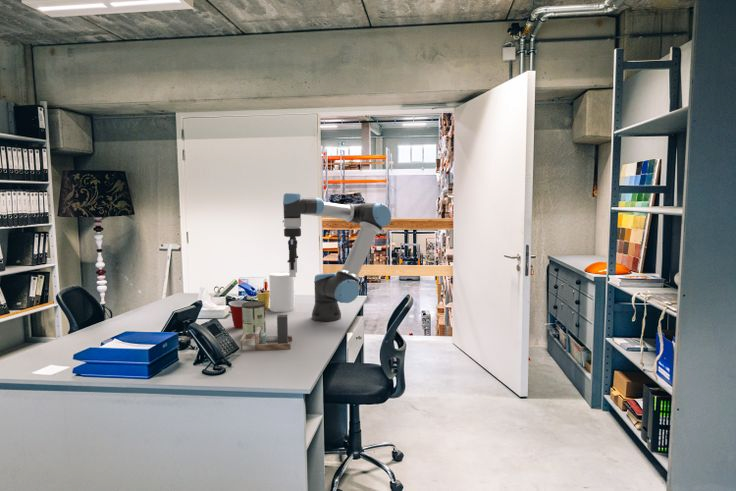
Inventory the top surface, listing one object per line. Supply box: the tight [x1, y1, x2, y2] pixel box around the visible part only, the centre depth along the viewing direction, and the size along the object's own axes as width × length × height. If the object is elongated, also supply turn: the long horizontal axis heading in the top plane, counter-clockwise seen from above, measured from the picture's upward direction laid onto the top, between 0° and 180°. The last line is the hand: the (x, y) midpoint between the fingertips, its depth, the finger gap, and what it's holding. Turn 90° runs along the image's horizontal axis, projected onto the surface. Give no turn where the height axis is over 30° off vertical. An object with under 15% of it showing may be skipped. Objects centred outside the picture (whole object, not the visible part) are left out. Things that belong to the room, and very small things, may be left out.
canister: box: [268, 271, 296, 313], centre depth 263 cm, size 14×14×20 cm
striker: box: [261, 314, 289, 344], centre depth 197 cm, size 10×4×12 cm, turn 96°
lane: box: [239, 327, 293, 351], centre depth 197 cm, size 20×12×6 cm, turn 96°
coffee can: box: [242, 300, 267, 335], centre depth 214 cm, size 10×10×14 cm
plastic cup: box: [228, 300, 249, 330], centre depth 226 cm, size 11×11×12 cm
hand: (293, 274), depth 214 cm, fingers open, 13 cm apart
